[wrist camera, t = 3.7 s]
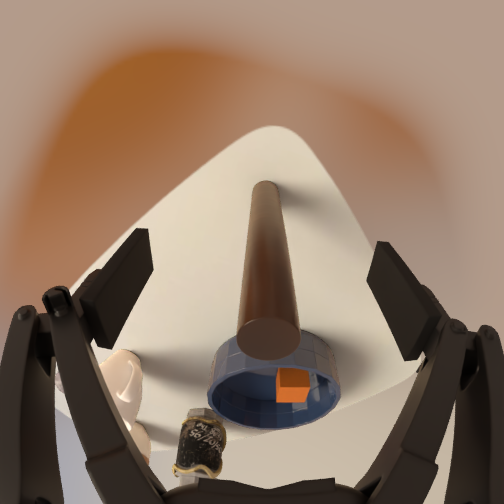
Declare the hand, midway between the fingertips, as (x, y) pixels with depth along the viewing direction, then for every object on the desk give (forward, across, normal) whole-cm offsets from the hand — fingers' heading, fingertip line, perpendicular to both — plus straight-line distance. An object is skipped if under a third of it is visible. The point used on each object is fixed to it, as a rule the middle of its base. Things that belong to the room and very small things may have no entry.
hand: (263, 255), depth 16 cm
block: (+11, +6, -25) cm, 28 cm away
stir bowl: (+12, +3, -25) cm, 28 cm away
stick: (+12, 0, 0) cm, 12 cm away
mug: (+12, -18, -25) cm, 33 cm away
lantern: (+12, -8, -42) cm, 44 cm away
